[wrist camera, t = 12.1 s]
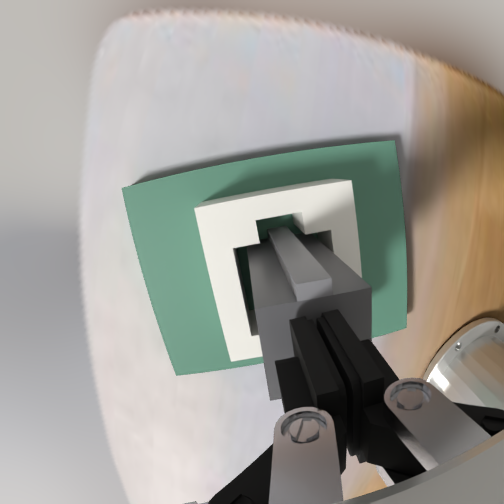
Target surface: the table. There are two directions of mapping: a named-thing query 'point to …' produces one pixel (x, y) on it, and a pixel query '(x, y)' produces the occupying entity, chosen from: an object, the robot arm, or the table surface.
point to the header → (245, 233)
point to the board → (249, 180)
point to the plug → (301, 292)
